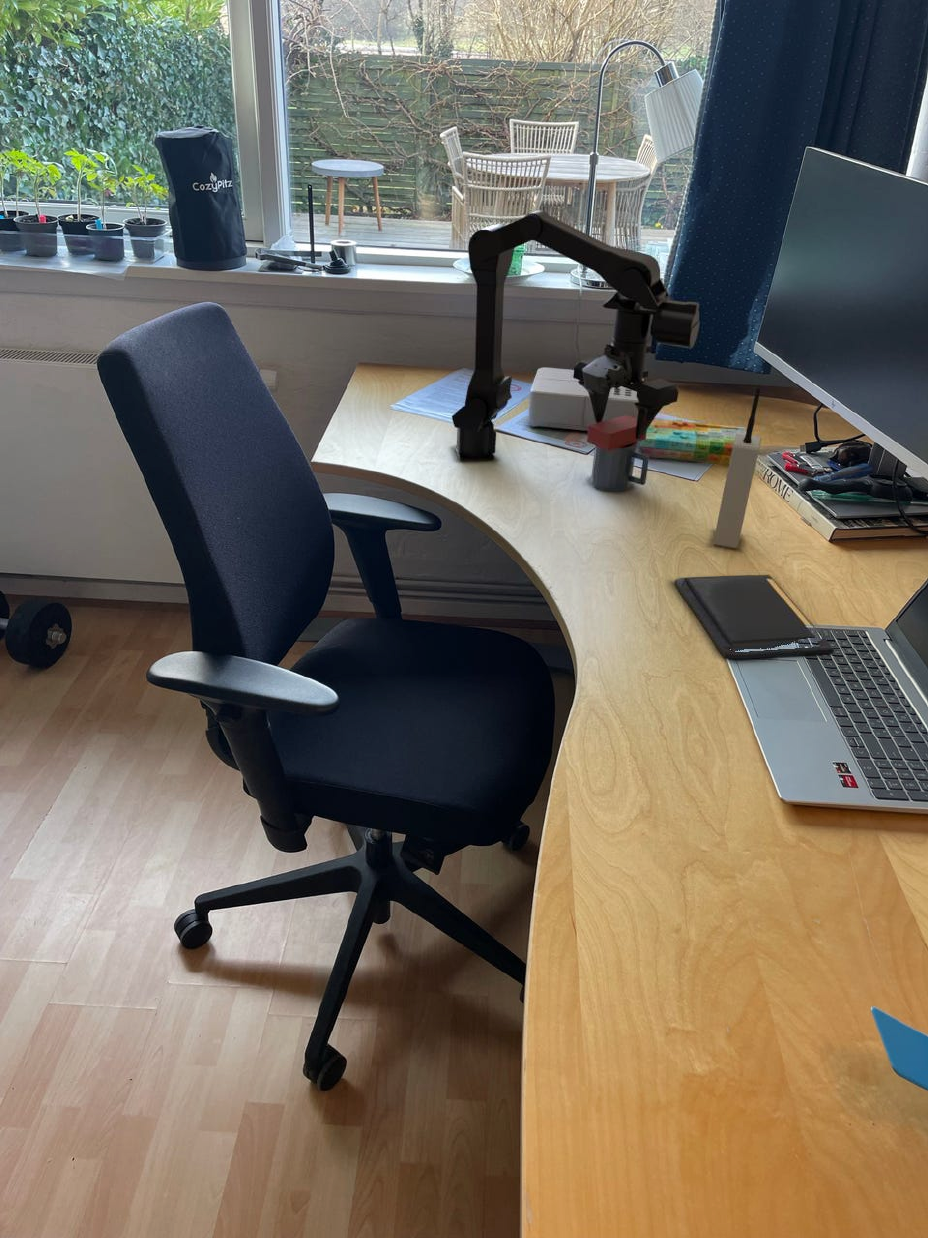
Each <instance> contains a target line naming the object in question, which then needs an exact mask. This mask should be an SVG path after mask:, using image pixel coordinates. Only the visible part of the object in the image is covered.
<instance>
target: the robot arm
mask: <svg viewBox="0 0 928 1238" xmlns="http://www.w3.org/2000/svg"><path fill="white" fill-rule="evenodd" d="M532 241H533V242H536V243H538V244H540V245H542V246H544V247H546V248H548V249H550V250H552V251H554V252H556V253H558V254H560V255H562V256H564V257H566V258H568V259H570V260H572V261H573V262H575V263H578V264H580V265H581V266H583V267H586V268H587V269H589V270H592V271H593V272H595V273H596V274H598V275H599V276H600V277H601V278H602V280H603V281H604V282H605V283H606V284H607V285H608V286H609V287H611V288H612V289H613V290H614V291H616V292H614V293H613V294H612V296H611V297H610V298H609V299H608V300H607V301H606V302H604V303H603V304H602V307H603V308H604V309H610V310H615V313H614V321H613V330H612V338H611V342H610V343H606V344H605V347H604V352H603V355H601V356H600V357H596V356H595V357H590V358H586V359H582V360H578V361H577V363H576V364H575V365H574V367H573V370H574V374H573V378H575V379H578V380H580V381H578V383H579V384H580V385H582V386H583V387H584V388H585V389H586V390H587V391H588V393H589V396H590V400H591V404H592V408H593V412H594V417H595V421H596V423H599V422H602V419H603V416H604V413H605V410H606V406H607V402H608V398H609V393H610V390H611V388H612V387H613V388H616V389H618V388H619V387H620V386H622V387H625V388H628V389H631V390H633V391H636V392H637V396H636V397H637V399H638V401H639V402H636V403H634V404H635V406H636V407H637V409H638V417H637V425H636V439H637V440H638V439H641V438H642V436H643V435H644V433H645V432H646V430H647V429H648V427H649V426H650V424H651V423H652V421H653V420H654V418H656V417H657V415H658V414H659V413H660V412H661V410H662V409H663V408H664V407H666V406H669V405H671V404H673V403H676V402H678V398H679V392H680V391H679V387H678V386H677V384H676V383H673V382H670V381H667V380H665V379H662V378H657V379H655V380H650V381H642V378H643V379H644V378H648V377H649V370H648V369H645V363H646V358H647V357H646V356H647V354H649V353H652V349H653V345H651V344H648V343H649V333H650V336H651V337H652V340H655V344H660V345H666V346H672V347H678V348H679V347H680V348H686V349H693V348H694V347H695V344H696V341H697V338H698V335H699V329H700V324H701V321H700V311H699V308H700V303H699V302H697V301H678V300H672V299H671V296H670V293H669V292H668V290H667V288H666V286H665V284H664V283H663V281H662V278H661V268H660V264H659V261H658V260H657V259H656V258H655V257H654V256H652V255H650V254H648V253H644V252H640V251H637V250H633V249H628V248H621V247H616V246H612V245H609V244H607V243H606V242H603V241H602V240H599V239H597V238H595V237H594V236H591V235H589V234H587V233H585V232H584V231H581V230H580V229H577V228H576V227H573V226H571V225H569V224H567V223H565V222H564V221H561V220H559V219H557V218H556V217H553V216H551V215H550V214H549V213H548V212H547V211H545V210H542V209H540V210H535V211H533V212H529V213H527V214H525V215H524V216H523V217H522V218H519V219H517V220H515V221H513V222H511V223H508V224H506V225H503V224H500V223H499V224H498V223H497V224H492V225H490V226H486V227H484V228H481V229H479V230H476V231H475V232H474V233H473V234H472V235H471V236H470V237H469V238H468V242H467V253H468V261H469V262H468V263H469V268H470V271H471V274H472V277H473V279H474V281H475V284H476V294H475V295H476V296H475V297H476V298H475V299H476V300H475V335H474V336H475V337H474V339H475V341H474V342H475V343H474V369H473V371H472V375H471V377H470V380H469V382H468V385H467V388H466V394H465V399H464V405H463V406H462V407H461V408H460V409H459V410H457V411H456V412H455V413H453V414H452V415H451V419H452V423H453V425H454V428H456V444H455V445H454V450H455V453H456V455H457V457H458V460H459V461H461V462H462V461H463V462H465V461H493V460H495V456H494V454H495V453H496V448H497V447H496V445H497V444H496V443H497V431H496V429H495V428H494V427H495V424H494V422H493V420H495V419H496V418H497V416H498V415H499V413H500V412H501V411H503V410H504V409H505V408H506V407H507V405H508V403H509V401H510V400H511V399H512V398H513V396H512V393H511V386H512V381H513V377H512V376H510V375H507V376H505V374H504V372H503V369H502V348H503V347H502V345H503V323H504V322H503V319H504V296H505V295H504V293H505V291H504V290H505V283H506V280H507V277H508V275H509V272H510V269H511V267H512V263H513V257H514V253H515V248H518V247H520V246H522V245H525V244H526V243H529V242H532ZM631 383H632V384H631Z"/></svg>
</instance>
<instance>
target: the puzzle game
mask: <svg viewBox="0 0 928 1238" xmlns="http://www.w3.org/2000/svg"><path fill="white" fill-rule="evenodd" d="M746 431H747V427H743V426H733V425H726V424H725V425H724V424H715V423H704V422H694V421H686V420H683V419H680V418H677V419H665V418H658V417H657V418H656V417H655V418H654V420H653V421H652V423H651V424H650V426H649V427H648V429H647V434H646V439H645V440H642V441H640V448H641V449H642V451H643V454H644V455H648V456H649V458H657V459H666V460H676V461H677V460H678V461H688V462H698V463H707V464H708V463H709V464H719V465H725V464H727V463H729V462H730V457H731V453H732V448H733V444H734V440H735V436H736V434H737V433H738V434H745V435H746Z"/></svg>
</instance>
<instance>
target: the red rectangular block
mask: <svg viewBox="0 0 928 1238" xmlns="http://www.w3.org/2000/svg"><path fill="white" fill-rule="evenodd" d="M636 425H637V419H636V418H634V417H631V416H629V415H623V416H620V417H616V418H613V419H609V420H606V421H602V422H599V423H595V424H592V425H589V426H588V431H587V435H586V437H587V438H586V443H588V444H591V445H592V446H594V447H595V446H597V447H599V448H602V449H604V450H606V451H610V450H613V449H616V448H620V447H623V446H626V445H629V444H633V443H636V442H637V443H639V442H641V441H642V440H645V439H646V434H647V430H646V432H645V433H644V435H643V436H642V438H641V439H638V440H637V439H636Z"/></svg>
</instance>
